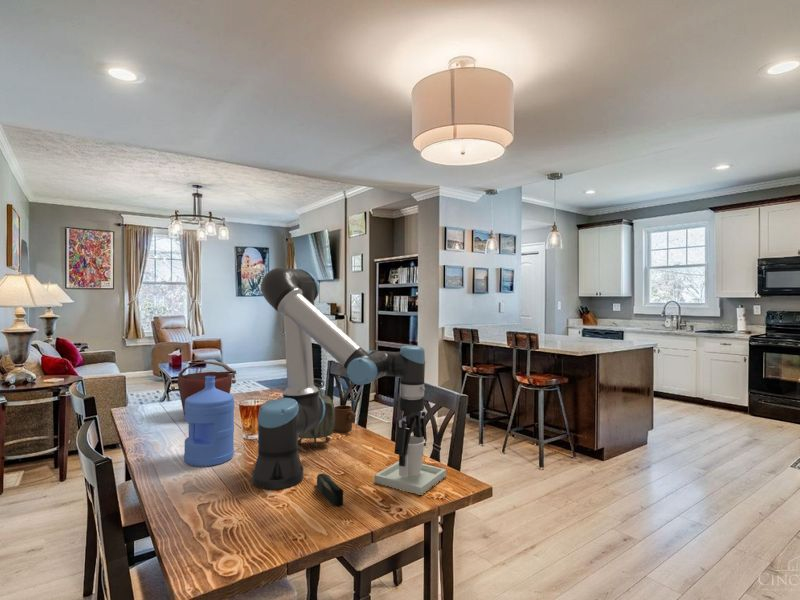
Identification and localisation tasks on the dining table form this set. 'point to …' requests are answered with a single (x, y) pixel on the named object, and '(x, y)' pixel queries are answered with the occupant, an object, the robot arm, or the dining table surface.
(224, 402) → the water jug
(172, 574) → the dining table surface
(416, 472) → the dixie cup
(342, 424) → the mug
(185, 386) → the bucket
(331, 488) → the dark green rounded block
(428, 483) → the tray
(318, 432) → the tabletop clock
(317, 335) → the robot arm
